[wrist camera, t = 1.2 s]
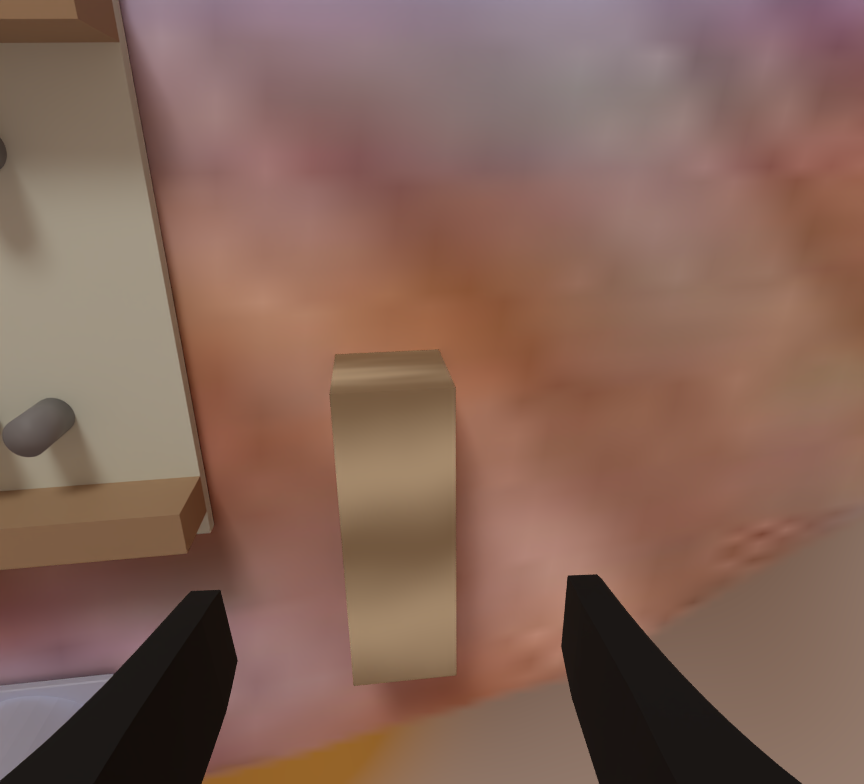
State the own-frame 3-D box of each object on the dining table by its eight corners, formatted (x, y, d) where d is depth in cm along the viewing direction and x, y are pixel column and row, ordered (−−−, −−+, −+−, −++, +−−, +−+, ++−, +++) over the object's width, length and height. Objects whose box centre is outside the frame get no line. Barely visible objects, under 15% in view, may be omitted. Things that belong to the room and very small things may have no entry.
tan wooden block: (441, 596, 27) (456, 675, 23) (354, 604, 27) (353, 685, 23) (438, 348, 23) (455, 387, 19) (335, 352, 23) (329, 394, 18)
